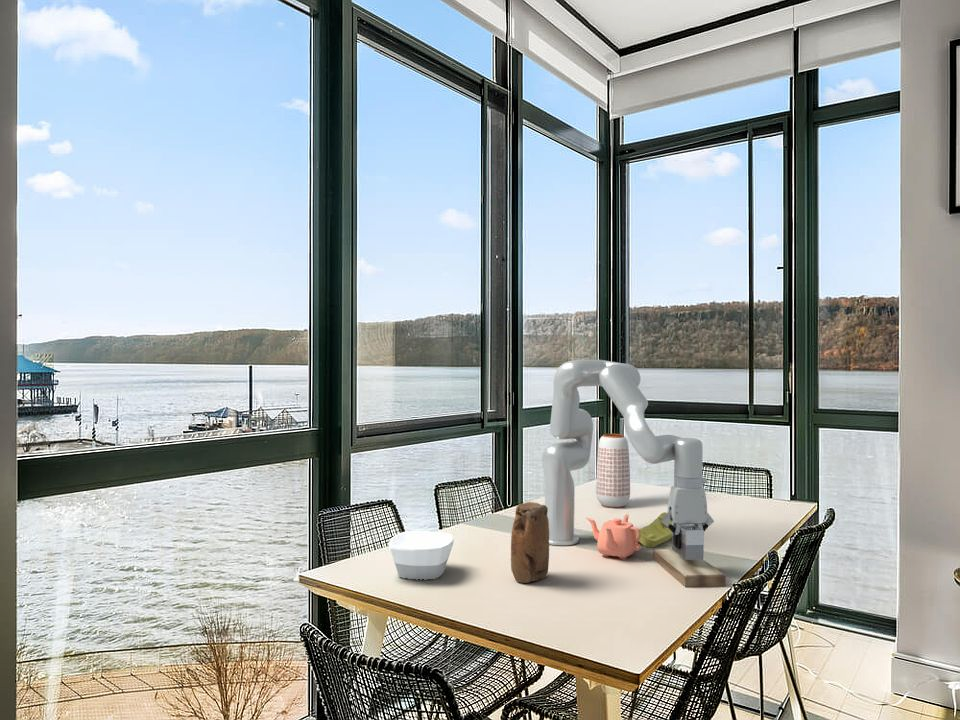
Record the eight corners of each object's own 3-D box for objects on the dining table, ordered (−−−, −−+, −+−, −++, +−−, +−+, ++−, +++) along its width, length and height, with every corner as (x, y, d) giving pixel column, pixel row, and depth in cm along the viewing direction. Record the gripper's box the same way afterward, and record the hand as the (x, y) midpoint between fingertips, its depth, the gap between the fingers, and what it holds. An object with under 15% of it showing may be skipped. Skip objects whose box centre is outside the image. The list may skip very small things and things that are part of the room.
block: (528, 570, 195) (529, 499, 195) (551, 576, 190) (552, 503, 190) (506, 581, 186) (507, 506, 186) (530, 587, 182) (530, 510, 181)
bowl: (381, 582, 185) (381, 547, 185) (398, 562, 202) (398, 529, 202) (447, 585, 182) (447, 550, 182) (458, 565, 200) (458, 532, 200)
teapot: (606, 564, 201) (606, 526, 201) (585, 550, 215) (585, 515, 215) (651, 560, 206) (651, 523, 205) (627, 546, 219) (627, 512, 219)
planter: (593, 501, 284) (594, 432, 283) (626, 502, 283) (627, 433, 283) (598, 509, 270) (598, 436, 270) (632, 509, 270) (633, 437, 269)
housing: (688, 548, 200) (689, 519, 200) (703, 559, 190) (703, 528, 190) (671, 549, 199) (672, 520, 199) (685, 559, 190) (686, 529, 189)
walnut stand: (685, 587, 182) (685, 575, 182) (653, 559, 206) (653, 549, 206) (725, 585, 183) (725, 574, 183) (689, 558, 207) (689, 548, 207)
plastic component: (652, 542, 217) (627, 523, 223) (644, 560, 219) (620, 541, 226) (685, 526, 230) (661, 509, 236) (677, 544, 233) (654, 526, 239)
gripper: (711, 479, 199) (710, 543, 199) (653, 480, 197) (653, 544, 198) (723, 484, 192) (722, 550, 192) (663, 485, 190) (662, 552, 190)
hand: (687, 546), depth 195 cm, fingers closed on housing, 5 cm apart
